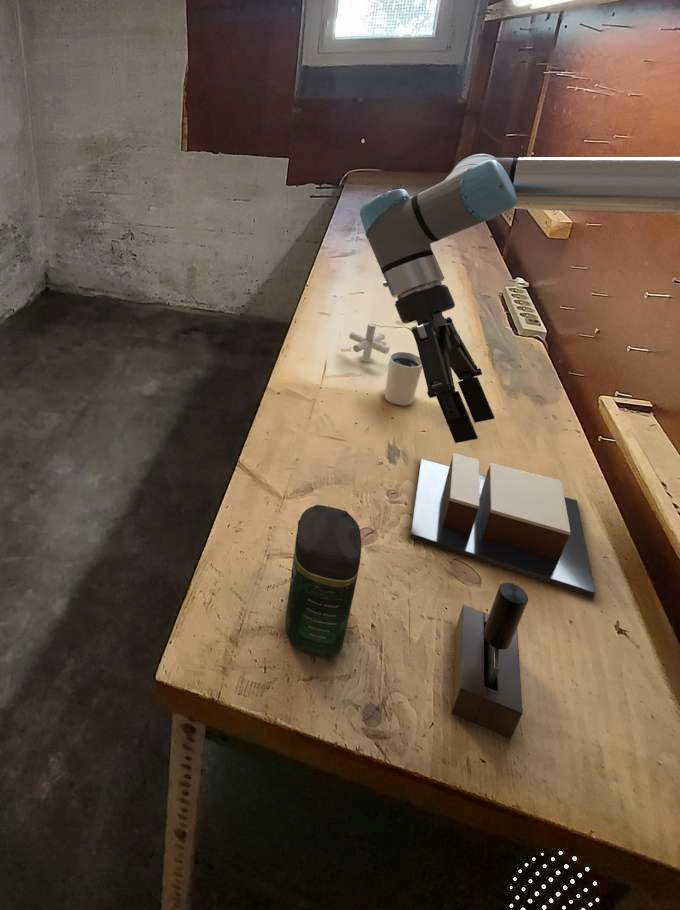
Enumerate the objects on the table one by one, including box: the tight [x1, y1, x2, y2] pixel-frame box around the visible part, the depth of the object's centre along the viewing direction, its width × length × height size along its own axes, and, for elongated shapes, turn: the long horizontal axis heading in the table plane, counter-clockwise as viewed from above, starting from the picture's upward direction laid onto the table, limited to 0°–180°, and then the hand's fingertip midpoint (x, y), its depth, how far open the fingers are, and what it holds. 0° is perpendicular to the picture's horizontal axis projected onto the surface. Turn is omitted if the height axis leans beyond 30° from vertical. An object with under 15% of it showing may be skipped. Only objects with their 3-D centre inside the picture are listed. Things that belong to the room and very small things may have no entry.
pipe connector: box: [348, 322, 390, 363], centre depth 137 cm, size 10×10×10 cm
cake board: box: [409, 458, 597, 598], centre depth 92 cm, size 24×20×1 cm
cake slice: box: [443, 452, 481, 534], centre depth 93 cm, size 4×12×6 cm, turn 152°
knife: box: [483, 582, 529, 689], centre depth 67 cm, size 8×3×16 cm, turn 151°
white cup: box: [384, 351, 423, 406], centre depth 123 cm, size 7×7×10 cm
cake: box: [482, 462, 571, 561], centre depth 90 cm, size 10×12×6 cm
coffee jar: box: [285, 504, 362, 658], centre depth 73 cm, size 10×8×19 cm
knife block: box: [451, 604, 524, 739], centre depth 69 cm, size 12×6×5 cm, turn 151°
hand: (476, 430), depth 80 cm, fingers open, 13 cm apart
